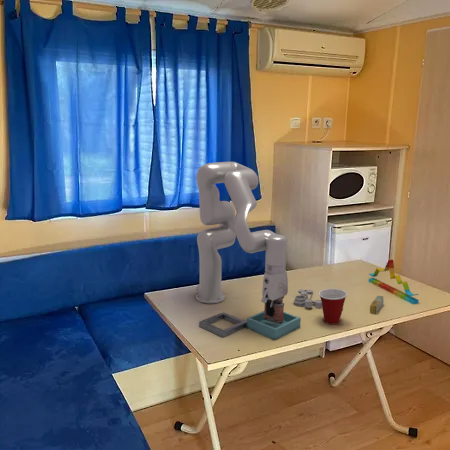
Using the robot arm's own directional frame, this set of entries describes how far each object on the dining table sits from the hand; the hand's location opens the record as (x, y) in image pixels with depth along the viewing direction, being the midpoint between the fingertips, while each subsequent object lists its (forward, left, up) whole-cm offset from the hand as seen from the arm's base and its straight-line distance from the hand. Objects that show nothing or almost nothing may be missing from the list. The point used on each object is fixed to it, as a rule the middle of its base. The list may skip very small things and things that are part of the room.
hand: (273, 313), depth 181 cm
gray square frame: (-14, -13, -6) cm, 20 cm away
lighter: (0, 0, -3) cm, 3 cm away
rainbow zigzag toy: (+14, +69, -6) cm, 71 cm away
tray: (0, 0, -6) cm, 6 cm away
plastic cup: (+12, +21, -6) cm, 25 cm away
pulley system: (-5, +31, -6) cm, 32 cm away
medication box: (+19, +45, -6) cm, 49 cm away
